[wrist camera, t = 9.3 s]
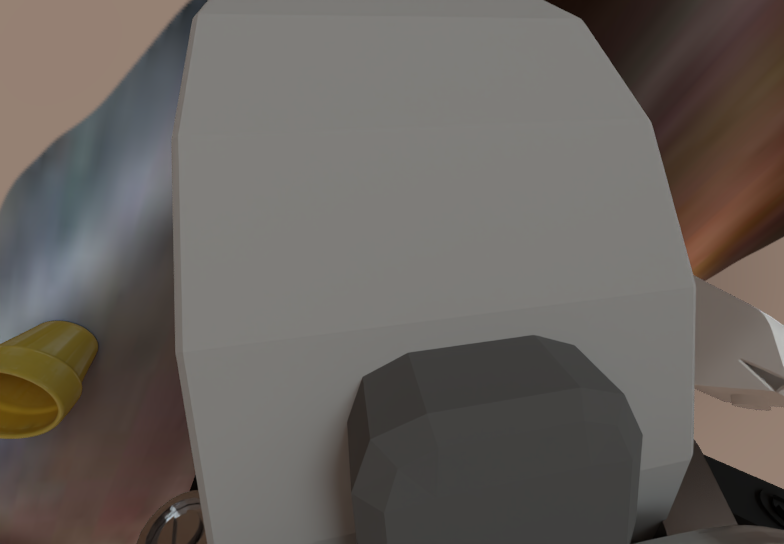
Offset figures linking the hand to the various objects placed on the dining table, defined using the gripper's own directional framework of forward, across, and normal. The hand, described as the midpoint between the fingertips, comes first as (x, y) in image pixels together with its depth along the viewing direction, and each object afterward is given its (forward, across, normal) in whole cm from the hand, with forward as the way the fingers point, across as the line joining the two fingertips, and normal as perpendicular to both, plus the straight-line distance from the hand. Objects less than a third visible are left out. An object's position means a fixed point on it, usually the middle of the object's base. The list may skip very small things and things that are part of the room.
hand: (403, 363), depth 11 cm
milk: (+30, -42, +17) cm, 54 cm away
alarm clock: (+13, 0, 0) cm, 13 cm away
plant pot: (+30, +36, +19) cm, 51 cm away
